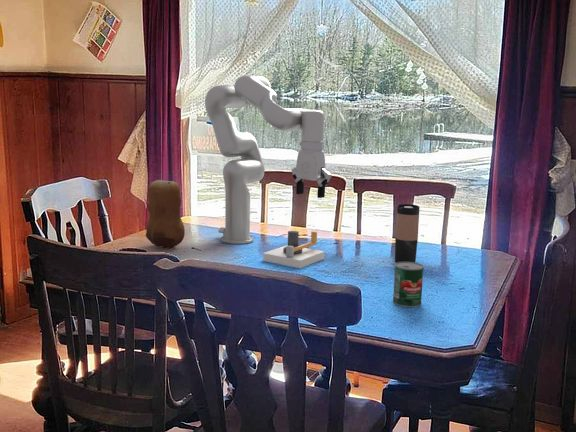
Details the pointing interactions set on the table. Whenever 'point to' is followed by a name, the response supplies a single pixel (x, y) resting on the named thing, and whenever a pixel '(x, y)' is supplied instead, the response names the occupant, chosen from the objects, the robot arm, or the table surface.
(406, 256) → the travel mug
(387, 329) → the table surface
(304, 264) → the white square base
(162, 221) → the butternut squash
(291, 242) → the plug
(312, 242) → the orange crank handle
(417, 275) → the canned tomato
